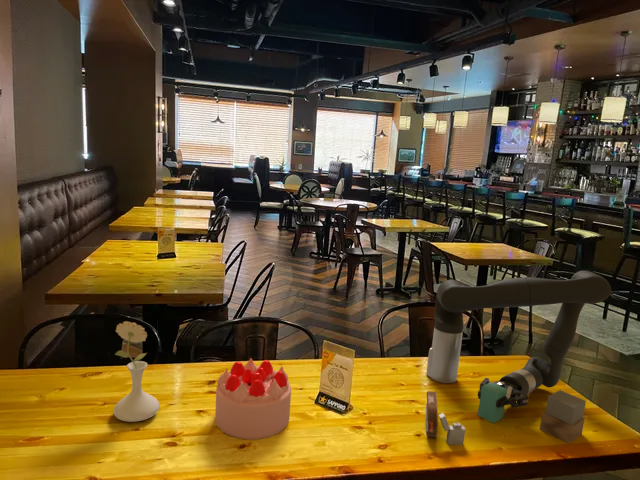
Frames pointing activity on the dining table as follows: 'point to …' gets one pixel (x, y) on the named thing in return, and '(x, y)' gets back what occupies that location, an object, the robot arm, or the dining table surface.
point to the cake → (252, 400)
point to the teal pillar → (491, 402)
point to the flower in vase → (135, 380)
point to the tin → (431, 414)
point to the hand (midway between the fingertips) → (488, 399)
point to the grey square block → (565, 407)
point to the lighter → (453, 431)
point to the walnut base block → (561, 428)
